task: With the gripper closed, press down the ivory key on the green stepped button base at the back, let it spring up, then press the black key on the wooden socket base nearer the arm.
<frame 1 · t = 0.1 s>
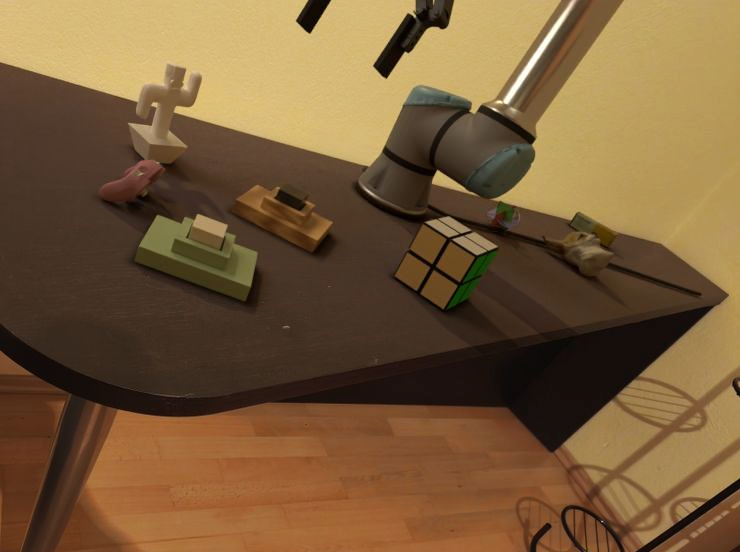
hand: (339, 49, 77), 28 cm above the table, tool tilted 20°, fingers open, 13 cm apart
puzzle cube: (429, 289, 103), on the table
medication box: (587, 236, 173), on the table
ceramic sculpture: (570, 264, 145), on the table
figurine: (152, 157, 104), on the table
white key: (208, 232, 78), point 5 cm above the table, slide at 0.1 cm
wooden socket base: (281, 223, 101), on the table
pink rounded piece: (129, 198, 89), on the table
green stepped button base: (197, 264, 81), on the table
black key: (291, 197, 99), point 5 cm above the table, slide at 0.1 cm
geometric puzzle: (494, 231, 144), on the table
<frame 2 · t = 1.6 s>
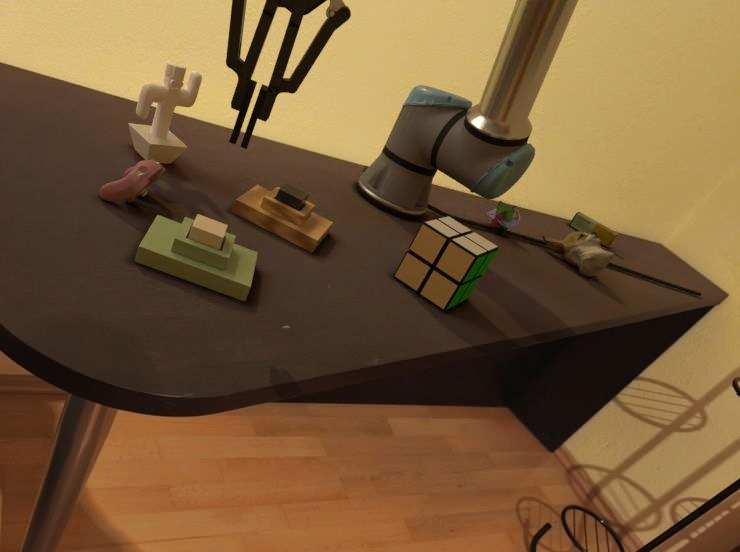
hand: (239, 142, 72), 16 cm above the table, tool pointing down, fingers closed
nothing on the table moved.
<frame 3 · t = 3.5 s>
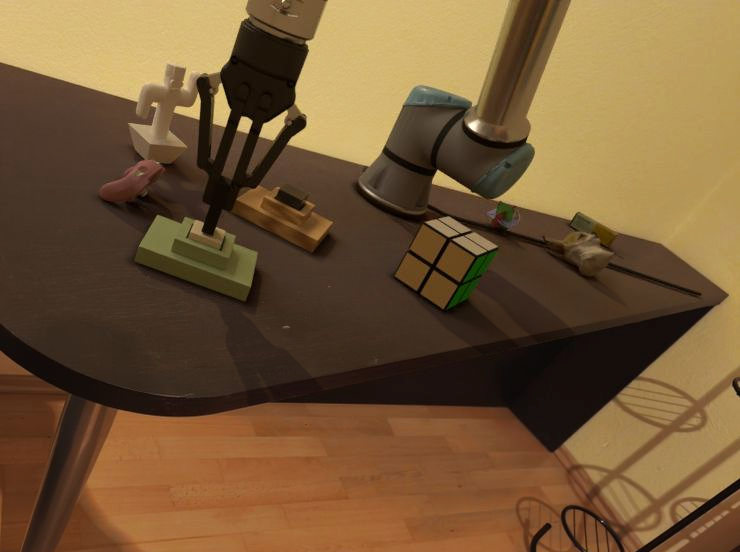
hand: (208, 229, 78), 5 cm above the table, tool pointing down, fingers closed
white key: (206, 238, 79), point 4 cm above the table, slide at -0.7 cm, touching gripper
everything else where it was.
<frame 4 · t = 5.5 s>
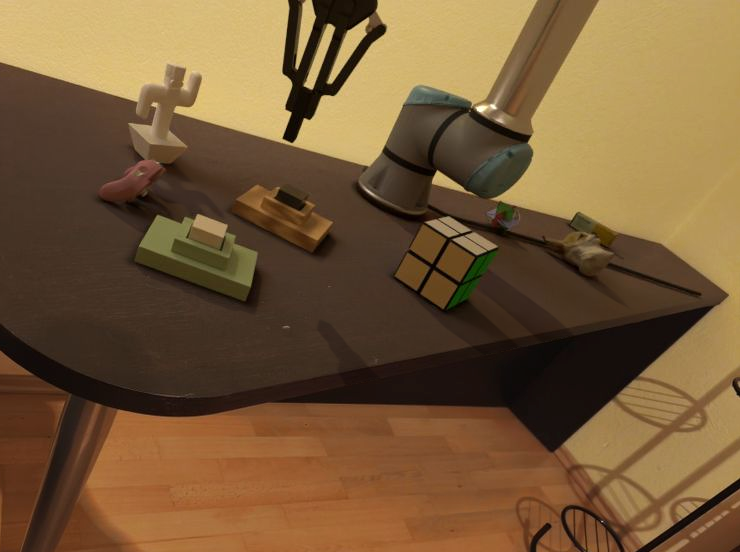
hand: (289, 138, 84), 16 cm above the table, tool pointing down, fingers closed
white key: (208, 232, 78), point 5 cm above the table, slide at 0.1 cm
everything else where it was.
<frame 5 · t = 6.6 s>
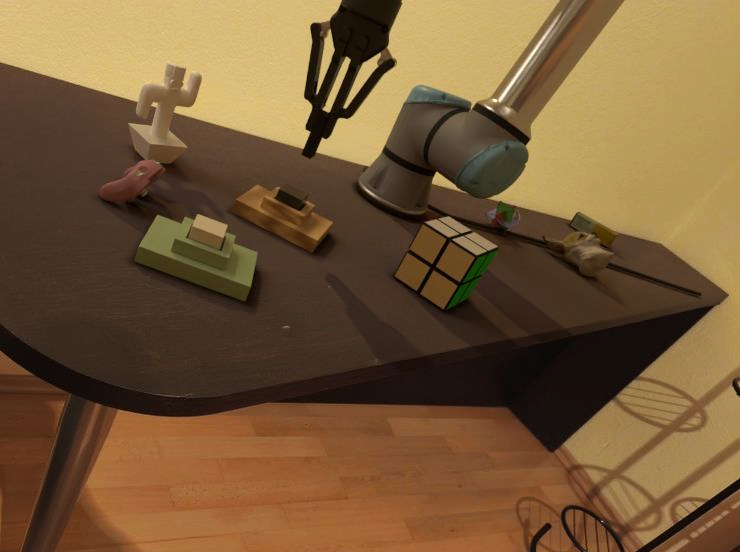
hand: (308, 155, 95), 12 cm above the table, tool pointing down, fingers closed
nothing on the table moved.
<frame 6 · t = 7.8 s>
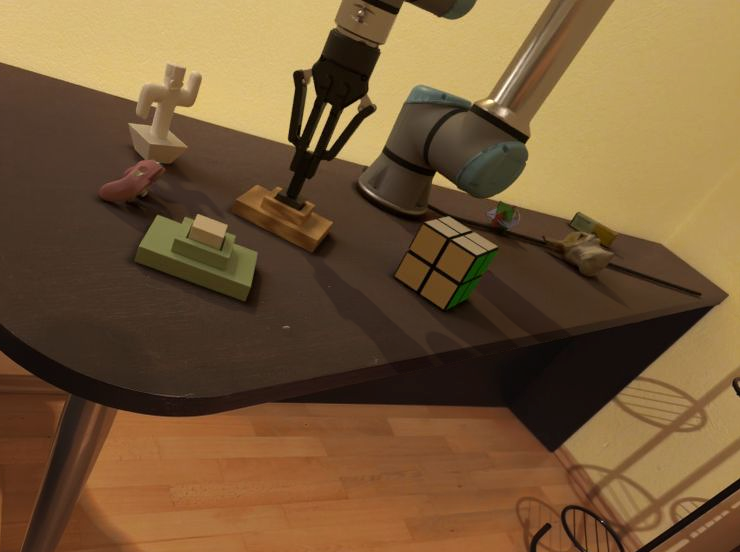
hand: (292, 193, 99), 5 cm above the table, tool pointing down, fingers closed
black key: (290, 201, 99), point 4 cm above the table, slide at -0.6 cm, touching gripper
everything else where it was.
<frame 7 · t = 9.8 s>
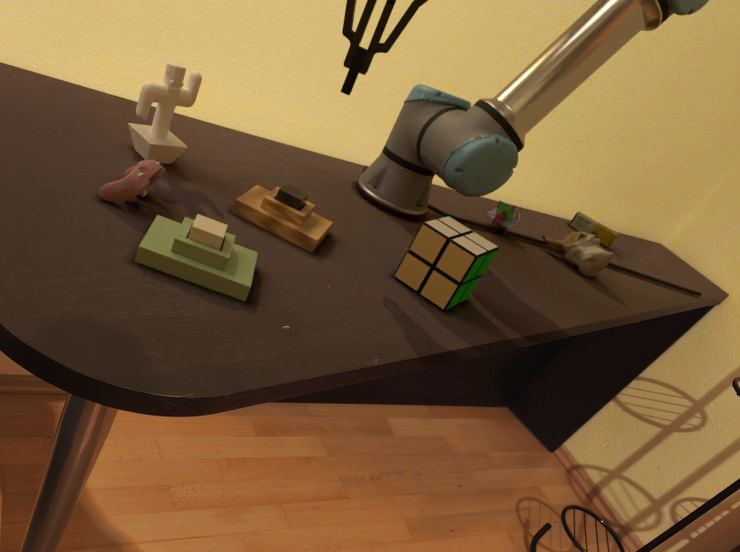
hand: (345, 92, 98), 20 cm above the table, tool pointing down, fingers closed
black key: (291, 197, 99), point 5 cm above the table, slide at 0.1 cm
everything else where it was.
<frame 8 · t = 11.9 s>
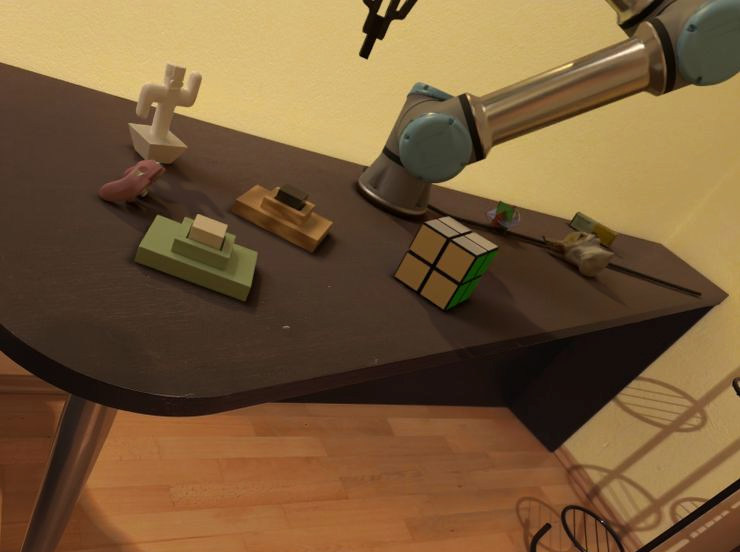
hand: (363, 56, 107), 24 cm above the table, tool pointing down, fingers closed
nothing on the table moved.
at the end: white key pushed in 1.0 cm at the most during the clip, back to where it started at the end; black key pushed in 1.0 cm at the most during the clip, back to where it started at the end; black key slide at 0.1 cm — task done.
